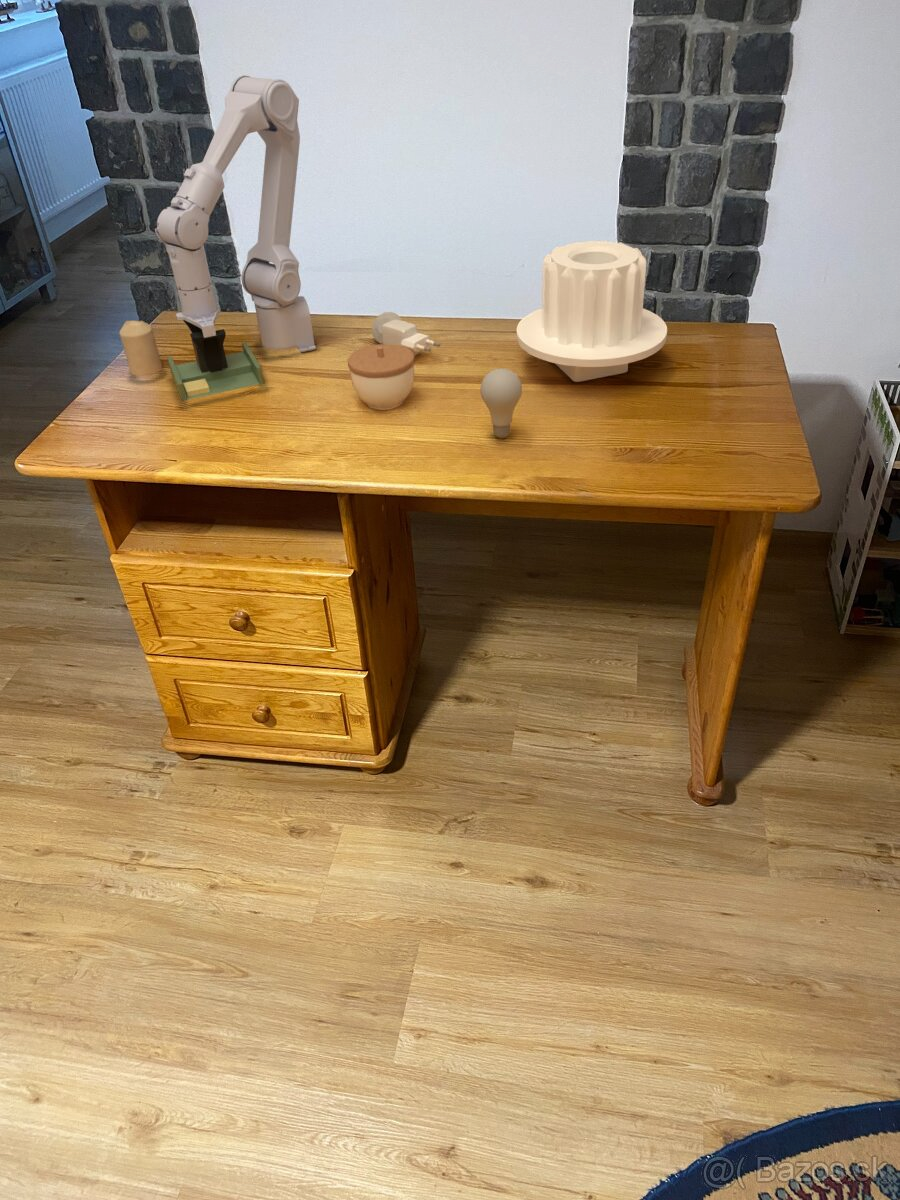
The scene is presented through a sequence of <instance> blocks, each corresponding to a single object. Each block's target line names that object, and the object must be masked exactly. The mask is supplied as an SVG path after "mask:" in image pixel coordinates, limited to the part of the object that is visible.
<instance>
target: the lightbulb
mask: <svg viewBox="0 0 900 1200" xmlns="http://www.w3.org/2000/svg"><path fill="white" fill-rule="evenodd" d="M522 393H523V386H522V382H521V378H520V377H519V376H518V375H517V374H516V373H515V372H514V371H513V370H510V369H508V368H504V367H503V368H502V367H501V368H495V369H492V370H491V371H489V372H487V374H486V375H485V376H484V377H483V379H482V380H481V384H480V395H481V396H480V397H481V400H482V401H483V403H484V404H485V406H486V408H487V409H488V411H489V414H490V422H491V424H492V429H493V430H492V431H493V435H494V436H495V437H496V438H498V439H505V438H506V437H509V436H510V434H511V425H512V424H511V423H512V422H513V416H514V415H513V414H514V411H515V408H516V407H517V405H518V403H519V401H520V399H521V397H522Z"/></svg>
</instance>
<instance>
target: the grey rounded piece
mask: <svg viewBox="0 0 900 1200" xmlns="http://www.w3.org/2000/svg"><path fill="white" fill-rule="evenodd" d="M394 319H398V320H402V321H403V319H402V318H401V316H400V315H399V314H397V313H395V312H393V311H385V312H382V313H380V314H379V315H378V316H377V317H376V318H375V319H374V321H373V324H372V326H371V332H372V336H373V339H374V340H375V342H377V343H379V345H381V344H383V337H382V326H383V324H385V323H387V322H389V321H391V320H394Z"/></svg>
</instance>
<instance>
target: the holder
mask: <svg viewBox="0 0 900 1200" xmlns="http://www.w3.org/2000/svg"><path fill="white" fill-rule="evenodd" d="M190 339H191V344H192V347H193V352H194V356H195V361H197V364H198V366H199V368H200V370H201V372H202V373H203V372H207V371H209V369H208V367H207V365H206V363H205V360H204V358H203V355H202V353H201V351H200V349H199V347H198V346H197V345H196V344H195V342H194V341H193V340H192V338H190ZM225 355H226V351H225V347H224V346H223V348H222V368H227V367H228V365H227V360H226V356H225Z"/></svg>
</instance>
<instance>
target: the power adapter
mask: <svg viewBox="0 0 900 1200" xmlns="http://www.w3.org/2000/svg"><path fill="white" fill-rule="evenodd" d="M382 337H383V344H392V345H399V346H403V347H406V348H408V349H410V350H411V351H412V352H413V354H414V357H416V356H417V355H419V351H425V352H428V353H430V352H431V351H432V349H431V348H430V347H429V346H430V345H432V346H434V347H438V348H440V347H441V343H440V342H438V341H434V340H432V337H431V336H430V335H427V334H425V333H421V332H418V327H417V325H416V324H415V323H411V322H409V321H405V320H403V319H402V320H398V319H394V320H391V321H389V322H387V323H385V324H383V326H382Z"/></svg>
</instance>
